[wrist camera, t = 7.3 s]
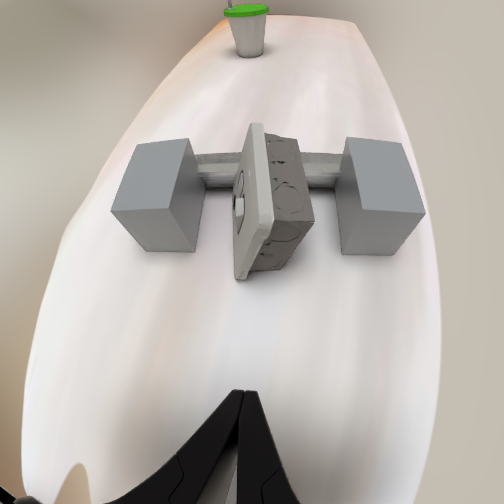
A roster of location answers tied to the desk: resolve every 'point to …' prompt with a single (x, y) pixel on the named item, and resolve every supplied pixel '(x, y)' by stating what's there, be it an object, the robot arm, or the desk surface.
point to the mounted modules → (346, 191)
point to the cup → (247, 27)
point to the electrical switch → (268, 202)
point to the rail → (315, 164)
